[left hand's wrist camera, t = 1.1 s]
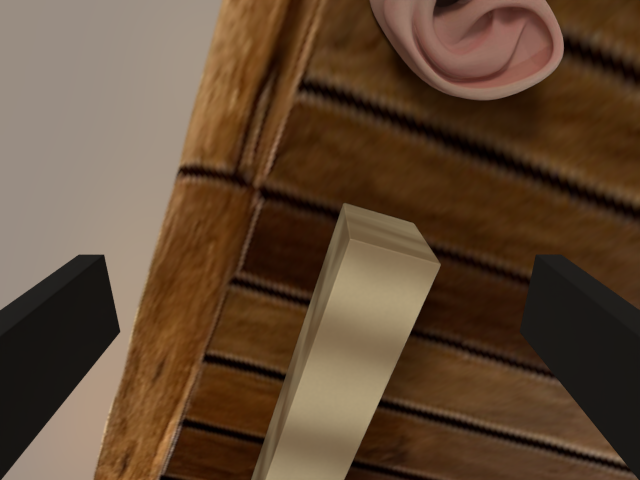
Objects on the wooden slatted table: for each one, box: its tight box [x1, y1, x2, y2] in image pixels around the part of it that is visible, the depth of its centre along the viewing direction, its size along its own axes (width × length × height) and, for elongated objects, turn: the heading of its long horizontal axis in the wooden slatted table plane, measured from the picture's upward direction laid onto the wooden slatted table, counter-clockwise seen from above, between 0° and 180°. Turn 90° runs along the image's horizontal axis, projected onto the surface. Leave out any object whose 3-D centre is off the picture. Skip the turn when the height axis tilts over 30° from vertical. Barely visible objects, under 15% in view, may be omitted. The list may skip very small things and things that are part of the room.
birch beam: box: [251, 203, 441, 480], centre depth 34 cm, size 34×6×8 cm, turn 163°
